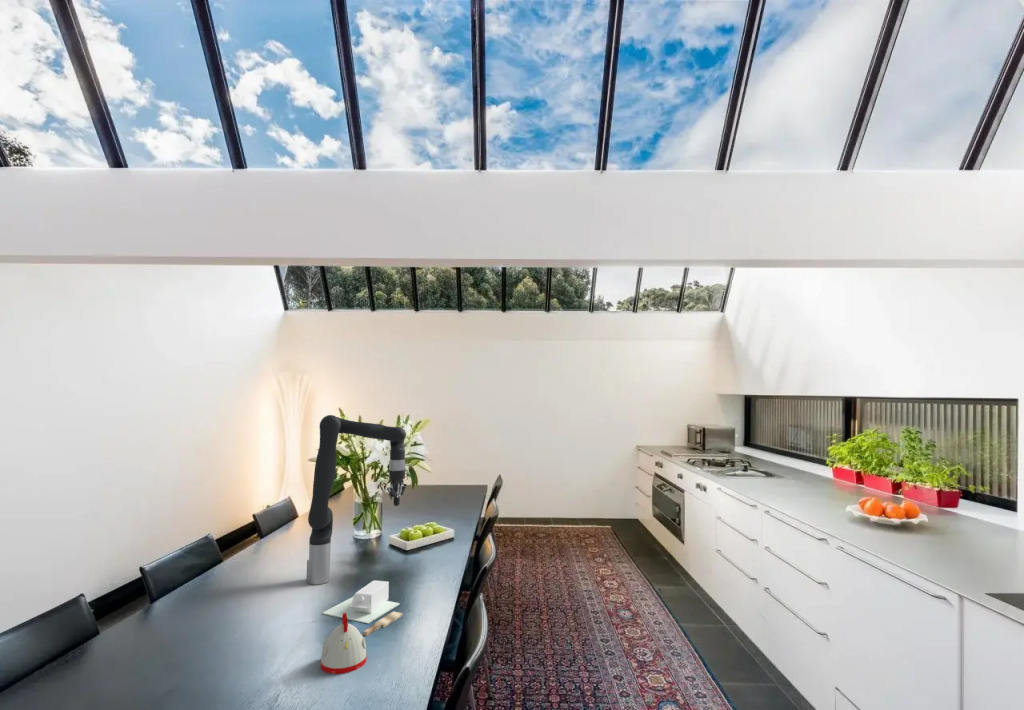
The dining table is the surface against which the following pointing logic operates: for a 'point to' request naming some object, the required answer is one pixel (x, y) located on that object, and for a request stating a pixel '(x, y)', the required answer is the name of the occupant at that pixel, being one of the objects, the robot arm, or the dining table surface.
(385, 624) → the beech turner
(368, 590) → the milk carton
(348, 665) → the kitchen timer
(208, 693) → the dining table surface
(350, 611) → the mat
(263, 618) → the dining table surface
